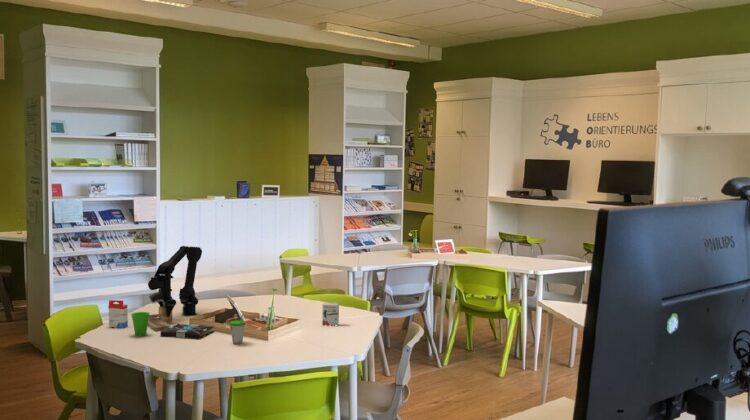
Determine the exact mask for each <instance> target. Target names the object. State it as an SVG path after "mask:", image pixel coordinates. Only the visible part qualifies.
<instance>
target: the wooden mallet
mask: <svg viewBox="0 0 750 420" xmlns="http://www.w3.org/2000/svg"><path fill="white" fill-rule="evenodd" d="M153 317H157V318H159V319H161V320H162V321H164V322H166V323H172V322H173V311H172V312H171V314H170V316H169V317H167V313H166V308H165V307H164V306H162V307H160V306H158V314H155V313H154V314H149V318H153Z"/></svg>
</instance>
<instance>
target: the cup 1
mask: <svg viewBox="0 0 750 420" xmlns="http://www.w3.org/2000/svg"><path fill="white" fill-rule="evenodd" d="M130 315H131V318H132V326H133V331H134V335H135V337H145V336H146V335H147V331H148V326H147V325H148V319H149V315H151V313H150V312H148V311H137V312H132V313H130Z"/></svg>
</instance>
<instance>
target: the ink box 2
mask: <svg viewBox="0 0 750 420" xmlns="http://www.w3.org/2000/svg"><path fill="white" fill-rule="evenodd" d="M339 311H340V304H339V302H323V304H322V317H321V318H322V321H321V323H322V324H321V325H338V326H339V324H338V323H339V321H340V319H339V317H340V316H339V315H340V312H339Z"/></svg>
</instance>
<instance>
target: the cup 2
mask: <svg viewBox="0 0 750 420" xmlns="http://www.w3.org/2000/svg"><path fill="white" fill-rule="evenodd" d="M244 315H245V313H243V314H242V315H241V316H240V320H232V321H229V326H230V332H231V338H232V339H231V340H232V344H233V345H241V344H243V340H244V333H245V325H246V321H245V320H243V317H244Z"/></svg>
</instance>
